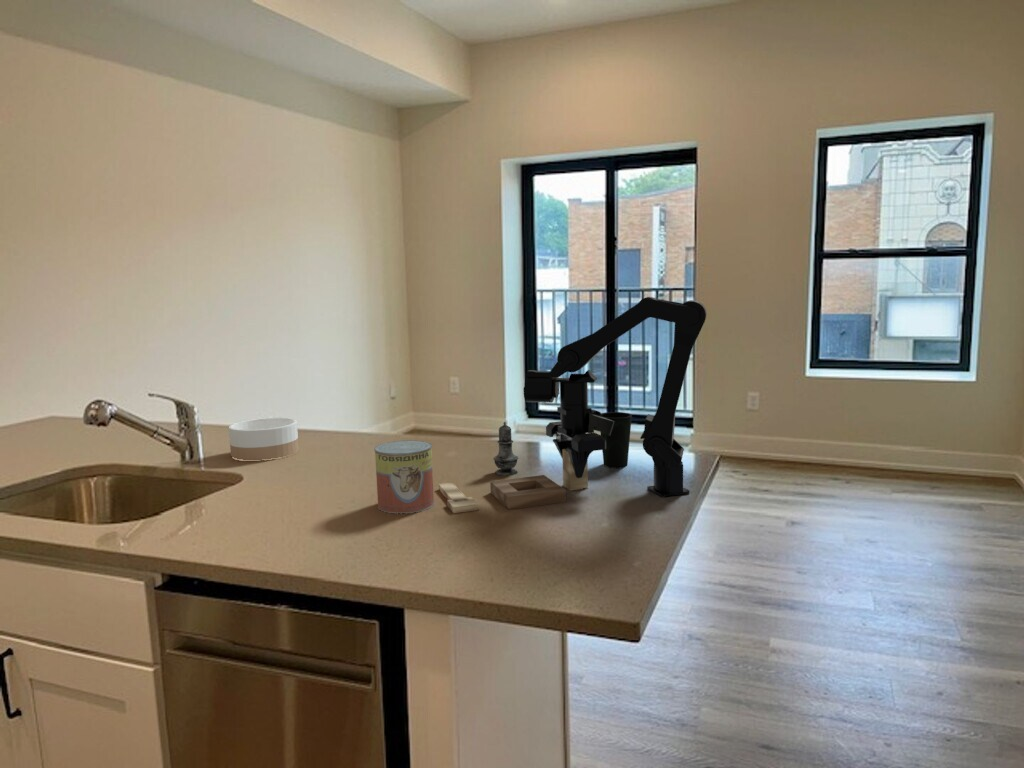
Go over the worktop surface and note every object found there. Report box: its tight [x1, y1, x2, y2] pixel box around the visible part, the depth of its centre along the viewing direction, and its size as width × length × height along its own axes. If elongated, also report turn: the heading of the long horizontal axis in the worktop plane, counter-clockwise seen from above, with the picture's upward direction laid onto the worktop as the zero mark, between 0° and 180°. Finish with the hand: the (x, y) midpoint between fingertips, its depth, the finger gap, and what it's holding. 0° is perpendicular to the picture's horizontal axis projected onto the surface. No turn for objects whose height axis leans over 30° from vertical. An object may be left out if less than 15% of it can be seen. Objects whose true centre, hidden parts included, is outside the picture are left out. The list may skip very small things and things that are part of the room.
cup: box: [600, 411, 633, 468], centre depth 171 cm, size 8×8×12 cm
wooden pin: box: [562, 449, 589, 491], centre depth 154 cm, size 4×4×8 cm
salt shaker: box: [492, 421, 519, 477], centre depth 166 cm, size 6×6×12 cm
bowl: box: [228, 417, 300, 460], centre depth 193 cm, size 17×17×8 cm
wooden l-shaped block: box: [438, 482, 479, 514], centre depth 148 cm, size 17×5×1 cm, turn 19°
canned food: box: [374, 440, 435, 515], centre depth 144 cm, size 11×11×12 cm
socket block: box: [489, 474, 567, 510], centre depth 148 cm, size 12×12×2 cm
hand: (575, 475), depth 154 cm, fingers closed on wooden pin, 4 cm apart
